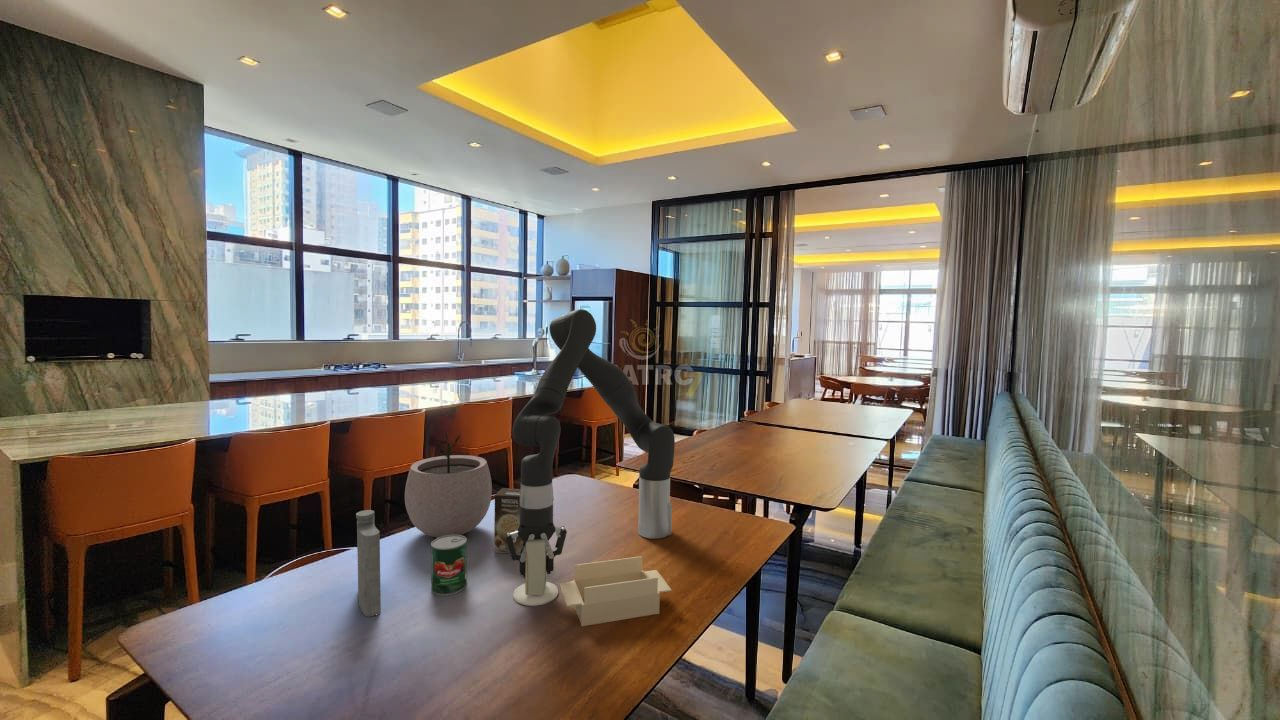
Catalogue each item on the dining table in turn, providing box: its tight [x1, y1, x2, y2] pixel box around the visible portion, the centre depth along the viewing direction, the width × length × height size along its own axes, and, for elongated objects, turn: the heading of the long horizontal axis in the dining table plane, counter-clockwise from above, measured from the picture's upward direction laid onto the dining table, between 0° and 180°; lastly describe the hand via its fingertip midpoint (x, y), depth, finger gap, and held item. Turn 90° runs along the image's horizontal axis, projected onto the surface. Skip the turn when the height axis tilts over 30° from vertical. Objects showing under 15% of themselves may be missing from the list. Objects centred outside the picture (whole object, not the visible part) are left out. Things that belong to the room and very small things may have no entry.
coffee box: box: [493, 487, 523, 554], centre depth 142 cm, size 9×6×16 cm
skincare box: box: [524, 539, 548, 595], centre depth 119 cm, size 6×4×12 cm
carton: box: [558, 555, 672, 627], centre depth 114 cm, size 23×11×8 cm, turn 108°
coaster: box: [513, 581, 559, 607], centre depth 119 cm, size 10×10×1 cm
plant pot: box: [404, 432, 493, 538], centre depth 152 cm, size 24×24×30 cm
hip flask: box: [355, 509, 382, 617], centre depth 115 cm, size 16×4×20 cm, turn 31°
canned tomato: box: [430, 535, 468, 596], centre depth 121 cm, size 8×8×11 cm
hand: (536, 574), depth 119 cm, fingers closed on skincare box, 5 cm apart
